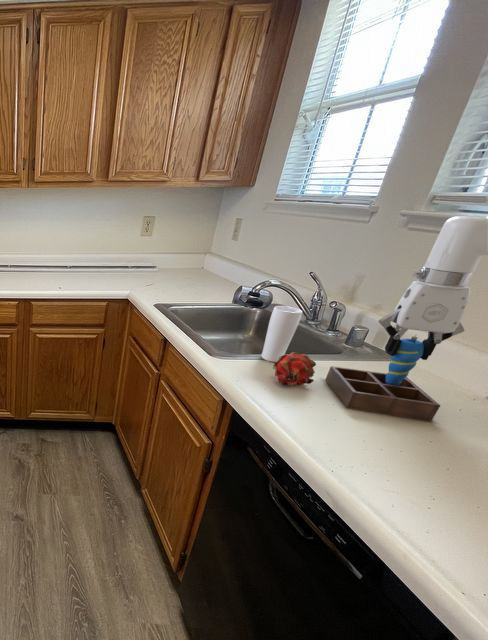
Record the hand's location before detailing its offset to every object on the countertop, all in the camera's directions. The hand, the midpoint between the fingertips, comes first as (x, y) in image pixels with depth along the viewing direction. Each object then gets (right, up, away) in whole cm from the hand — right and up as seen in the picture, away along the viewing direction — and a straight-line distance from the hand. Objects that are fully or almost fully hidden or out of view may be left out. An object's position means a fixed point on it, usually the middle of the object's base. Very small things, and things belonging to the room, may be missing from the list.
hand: (405, 355), depth 97 cm
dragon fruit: (-20, -7, +10) cm, 23 cm away
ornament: (0, -9, +4) cm, 10 cm away
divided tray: (-5, -10, +3) cm, 12 cm away
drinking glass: (-15, 0, +24) cm, 28 cm away
